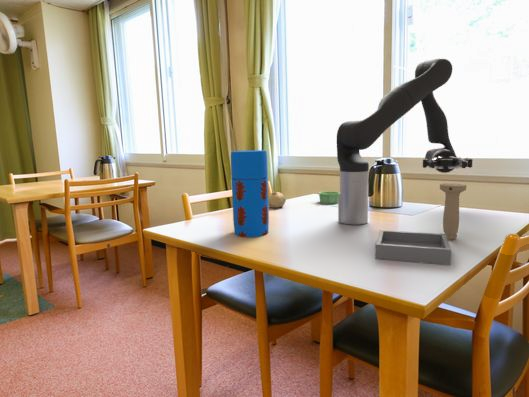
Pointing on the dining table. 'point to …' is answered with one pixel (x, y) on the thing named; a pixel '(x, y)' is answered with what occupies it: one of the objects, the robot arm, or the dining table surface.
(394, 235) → the tray
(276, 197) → the onion
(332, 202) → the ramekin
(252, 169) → the thermos
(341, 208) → the robot arm
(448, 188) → the handle
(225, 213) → the dining table surface
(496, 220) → the dining table surface
